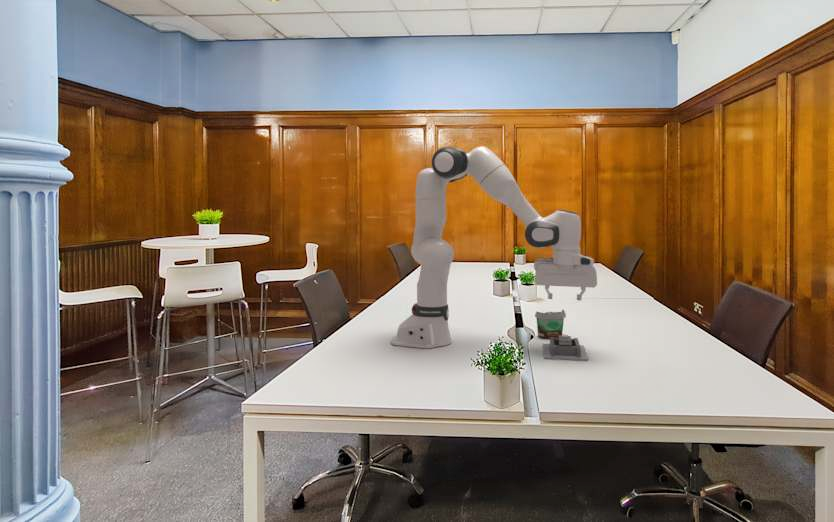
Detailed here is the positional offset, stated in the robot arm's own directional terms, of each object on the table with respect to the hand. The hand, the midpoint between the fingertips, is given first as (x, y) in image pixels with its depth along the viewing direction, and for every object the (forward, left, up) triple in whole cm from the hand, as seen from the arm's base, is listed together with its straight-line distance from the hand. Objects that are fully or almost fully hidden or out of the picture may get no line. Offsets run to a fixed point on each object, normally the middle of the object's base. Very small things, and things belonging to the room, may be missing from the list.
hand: (564, 299), depth 176 cm
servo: (0, 0, -18) cm, 18 cm away
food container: (-3, +20, -19) cm, 28 cm away
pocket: (0, 0, -19) cm, 19 cm away
